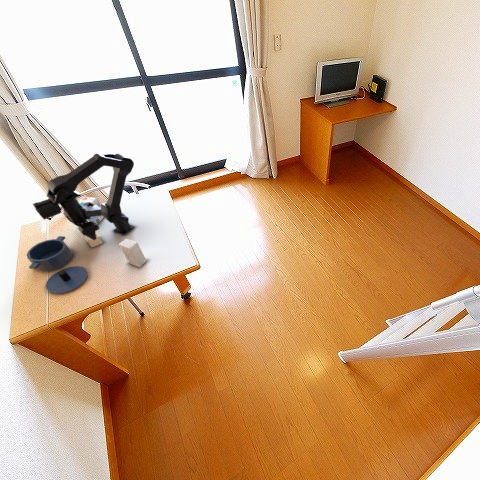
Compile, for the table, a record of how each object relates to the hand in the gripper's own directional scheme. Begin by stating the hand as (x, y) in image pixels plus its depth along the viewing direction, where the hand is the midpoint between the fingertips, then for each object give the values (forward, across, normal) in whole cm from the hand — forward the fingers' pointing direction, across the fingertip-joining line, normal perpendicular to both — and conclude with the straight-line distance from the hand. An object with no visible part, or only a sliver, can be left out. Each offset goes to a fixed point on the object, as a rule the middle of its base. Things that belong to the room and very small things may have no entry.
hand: (90, 234), depth 127 cm
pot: (+5, +1, +16) cm, 17 cm away
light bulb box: (+6, +17, -7) cm, 19 cm away
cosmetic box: (+6, -25, -6) cm, 27 cm away
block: (+5, 0, 0) cm, 5 cm away
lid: (+5, -15, +17) cm, 23 cm away
